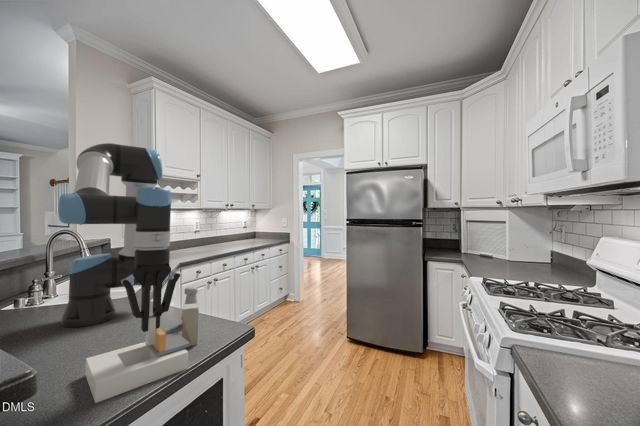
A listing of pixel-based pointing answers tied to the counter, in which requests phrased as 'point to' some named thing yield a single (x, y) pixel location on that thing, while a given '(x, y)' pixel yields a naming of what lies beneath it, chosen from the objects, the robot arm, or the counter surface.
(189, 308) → the box
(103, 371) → the socket
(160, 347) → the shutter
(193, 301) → the salt shaker
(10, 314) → the counter surface
